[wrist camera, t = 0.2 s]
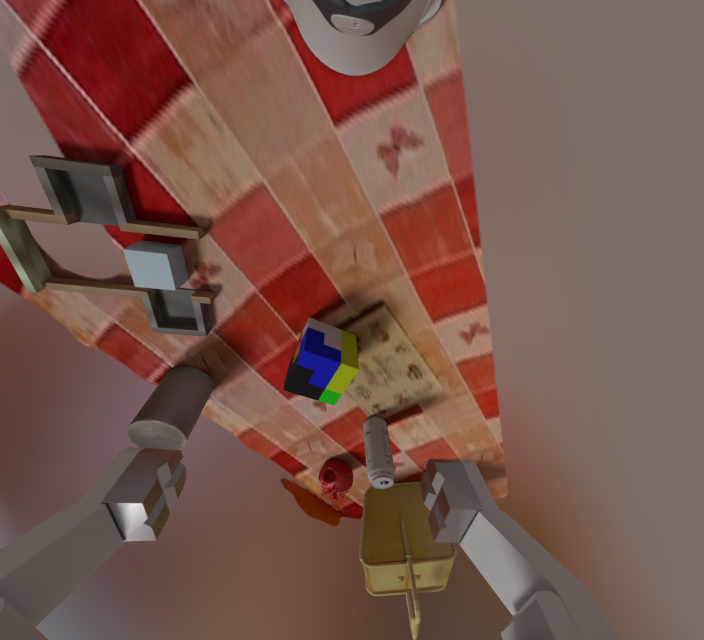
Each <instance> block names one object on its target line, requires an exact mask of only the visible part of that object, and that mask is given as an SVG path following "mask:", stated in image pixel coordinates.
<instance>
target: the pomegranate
mask: <svg viewBox="0 0 704 640" xmlns="http://www.w3.org/2000/svg"><path fill="white" fill-rule="evenodd" d="M318 478H319V481H320V483H321V484H322V488H323V489H324V490H322V491H323V492H324V493H327V494H331V493H332V496H331V497H330V498H332V497H333V496H334V497H333V501H337V498H336V496H337V494H338V495H340V493H343V492H344V491H346V490H348V489H350V488H351V486H352V483H353V472H352V469H351V468H350V466H349V465H348V464H347V463H345V462H343V461H340V460H331V461H328V462H326V463H325V464H324V465H323V466H322V468H321V470H320V474H319V477H318ZM349 491H350V490H349ZM347 492H348V491H346V492H345V493H347ZM345 493H343V494H345ZM340 496H341V495H340ZM341 497H344V496H341ZM344 498H345V497H344Z"/></svg>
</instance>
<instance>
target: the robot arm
mask: <svg viewBox="0 0 704 640" xmlns="http://www.w3.org/2000/svg"><path fill="white" fill-rule="evenodd" d="M284 1H285V2H286V3H287V4H288V6H289V8H290V10H291V12H292V14H293V16H294V19H295V21H296V24H297V26H298V28H299V31H300V33H301V35H302V37H303V39H304V40H305V42H306V44H307V45H308V47H309V48H310V49H311V51H312V52H313V53H314V54H315V56H316V57H317V58H318V59H319V60H320V61H322V62H323V63H324V64H325V65H327V66H328V67H330V68H331V69H333V70H335V71H337V72H339V73H342V74H346V75H365V74H369V73H372V72H374V71H376V70H378V69H380V68H382V67H383V66H385V65H386V64H387V63H388V62H390V61H391V60H392V59H393V58H394V57H395V56H396V54H397V53H398V52H399V51H400V49H401V48H402V47H403V45H404V44H405V42H406V41H407V39H408V38H409V37H410V35H411V34H412V33H413V32H414V31H415V30H416V29H418V28H420V27H421V26H423V25H424V24H426V23H427V22H428V21H430V20H431V19H432V18H433V17H434V16H435V15H436V13H437V12H438V10H439V7H440V5H441V1H442V0H284ZM182 458H183V456H182V453H181V450H171V449H152V448H132V447H127V448H125V449H124V450H122V451H121V452H120V453H119V454H118V455H117V456H116V458H115V459H114V460H113V461H112V463H111V464H110V465H109V466H108V468H107V469H106V470H105V471H104V472H103V474H102V475H101V476H100V477H99V478H98V480H97V481H96V482H95V483H94V485H93V486H92V487H91V488H90V489H89V491H88V492H87V493H86V494H85V496H84V497H83V498H82V499H81V501H80V502H79V503H76V504H74V503H72V504H70V505H69V506H67V507H66V508H64V509H63V510H61V511H60V512H58V513H57V514H55V515H53V516H52V517H51V518H49V519H47V520H46V521H44V522H43V523H41V524H40V525H38V526H36V527H35V528H33V529H32V530H30V531H29V532H27V533H26V534H24V535H22V536H21V537H19V538H18V539H16V540H15V541H13V542H12V543H10V544H9V545H7V546H5V547H4V548H2V549H1V550H0V640H48V639H47V638H46V637H45V636H44V635H43V634H42V633H40V632H39V631H38V630H37V629H36V628H35V627H36V626H37V625H38V624H39V623H40V622H41V621H42V620H43V619H44V618H45V617H46V616H47V615H48V614H49V613H51V612H52V611H53V610H54V609H55V608H56V607H57V606H58V605H59V604H60V603H61V602H62V601H63V600H64V599H65V598H67V597H68V595H70V594H71V593H72V592H73V591H74V590H75V589H76V588H77V587H78V586H79V585H80V584H81V583H83V582H84V581H85V579H87V578H88V577H89V576H90V575H91V574H92V573H93V572H94V571H95V570H96V569H97V568H98V567H99V566H100V565H102V564H103V563H104V562H105V561H106V560H107V559H108V558H109V557H110V556H111V555H112V554H113V553H114V552H115V551H117V550H118V549H119V548H120V547H121V546H122V545H123V544H124V541H154V540H157V538H158V536H159V535H160V532H161V531H162V529H163V527H164V525H165V523H166V521H167V519H168V517H169V515H170V514H169V508H168V507H169V506H170V505H171V504H172V503H173V502H175V501H176V500H177V499H178V498H179V495H180V493H181V491H182V489H183V486H184V483H185V479H186V468H185V466H184V465H183V464H182V463H180V461H181V459H182ZM426 467H427V471H426V472H425V473H423V475H422V478H421V494H422V499H423V503H424V505H425V506H426V507H427V508H428V509H429V510H430V514H429V517H428V521H429V525H430V528H431V532H432V535H433V539H434V542H443V543H460V546H461V547H462V548H463V550H464V551H465V552H466V554H467V555H468V556H469V558H470V559H471V560H472V562H473V563H474V564H475V566H476V567H477V568H478V570H479V571H480V572H481V574H482V575H483V576H484V578H485V579H486V580H487V582H488V583H489V584H490V586H491V587H492V588H493V590H494V591H495V592H496V594H497V595H498V596H499V598H500V599H501V600H502V602H503V603H504V605H505V606H506V607H507V609H508V610H509V611H510V613H511V614H512V615H513V617H512V618H511V619H510V620H509V621H508V622H507V623H506V624H505V625H504V626H503V628H502V631H501V636H502V638H503V640H619V638H618V637H617V635H616V634H615V632H614V631H613V629H612V627H611V626H610V624H609V622H608V621H607V619H606V617H605V616H604V614H603V613H602V611H601V609H600V608H599V606H598V604H597V603H596V601H595V600H594V598H593V596H592V595H591V593H590V592H589V590H588V589H587V588H586V587H585V586H584V585H583V584H582V583H581V582H580V581H579V580H577V578H575V577H574V576H573V575H572V574H571V573H570V572H569V571H568V570H567V569H566V568H565V567H563V566H562V565H561V564H560V563H559V562H558V561H557V560H556V559H555V558H554V557H553V556H552V555H551V554H550V553H548V552H547V551H546V550H545V549H544V548H543V547H542V546H541V545H540V544H539V543H538V542H537V541H536V540H535V539H533V538H532V537H531V536H530V535H529V534H528V533H527V532H526V531H525V530H524V529H523V528H522V527H521V526H519V525H518V524H517V523H516V522H515V521H514V520H513V519H512V518H511V517H510V516H509V515H508V514H506V513H505V512H504V511H500V510H499V509H498V507H497V505H496V503H495V501H494V499H493V497H492V495H491V493H490V491H489V489H488V487H487V485H486V483H485V481H484V479H483V477H482V475H481V473H480V471H479V469H478V467H477V465H476V463H475V462H474V461H473V460H457V459H429V460H428V462H427V464H426Z"/></svg>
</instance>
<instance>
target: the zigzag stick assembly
mask: <svg viewBox="0 0 704 640" xmlns="http://www.w3.org/2000/svg"><path fill="white" fill-rule="evenodd" d="M29 157H30V159H31V161H32V164H33V166H34V168H35V171H36V173H37V175H38V177H39V180H40V182H41V184H42V186H43V189H44V191H45V193H46V195H47V198H48V200H49V202H50V204H51V207H52V209H53V210H48V209H39V208H30V207H22V206H13V205H4V206H0V244H1V246H2V247H3V249H4V251H5V252H6V254H7V256H8V258H9V259H10V261H11V263H12V265H13V266H14V268H15V270H16V272H17V273H18V275H19V277H20V278H21V280H22V282H23V284H24V285H25V287H26V289H27V291H28V292H34V293H37V292H39V291H41V290H43V289H49V290H60V291H71V292H83V293H94V294H105V295H116V296H127V297H139V298H142V301H143V304H144V307H145V310H146V313H147V317H148V320H149V323H150V326H151V329H152V332H155V333H168V334H181V335H194V336H207V335H208V333H209V332H210V331H211V327H210V321H209V316H208V310H207V305H206V304H211V303H212V302H213V300H214V299H215V292H209V291H199V290H188V289H177V290H176V291H175V290H164V289H154V288H143V287H135V285H134V284H124V283H113V282H103V281H92V280H81V279H71V278H60V277H53V276H52V274H51V272H50V270H49V268H48V266H47V264H46V262H45V260H44V258H43V256H42V254H41V252H40V250H39V248H38V246H37V244H36V242H35V240H34V238H33V236H32V234H31V232H30V230H29V229H28V227H27V225H26V223H25V221H24V220H30V221H39V222H48V223H57V224H65V225H69V224H73V223H76V222H88V223H96V224H105V225H114V226H119V227H120V230H121V231H128V232H137V233H146V234H155V235H163V236H172V237H181V238H190V239H201V238H202V237H204V236H205V230H204V228H202V227H193V226H185V225H176V224H168V223H159V222H151V221H142V220H136V217H135V213H134V210H133V206H132V203H131V199H130V196H129V192H128V189H127V186H126V182H125V179H124V175H123V172H122V168H121V166H120V165H112V164H105V163H98V162H90V161H83V160H75V159H68V158H60V157H53V156H45V155H41V156H29Z"/></svg>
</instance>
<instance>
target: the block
mask: <svg viewBox="0 0 704 640" xmlns="http://www.w3.org/2000/svg"><path fill="white" fill-rule="evenodd" d="M123 252H124V255H125V258H126V261H127V264H128V267H129V270H130V273H131V276H132V279H133V282H134V285H135V287H143V288H154V289H164V290H175V291H176V290H177V289H178V288H179V287H180V286H182V285H183V284H184V283H185V282H186V281H187V280H188V279H189V278H188V274H187V269H186V264H185V259H184V255H183V250H182V245H177V244H168V243H159V242H150V241H139V242H137V243H135V244H133V245H131V246H129V247H126V248H124V249H123Z"/></svg>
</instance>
